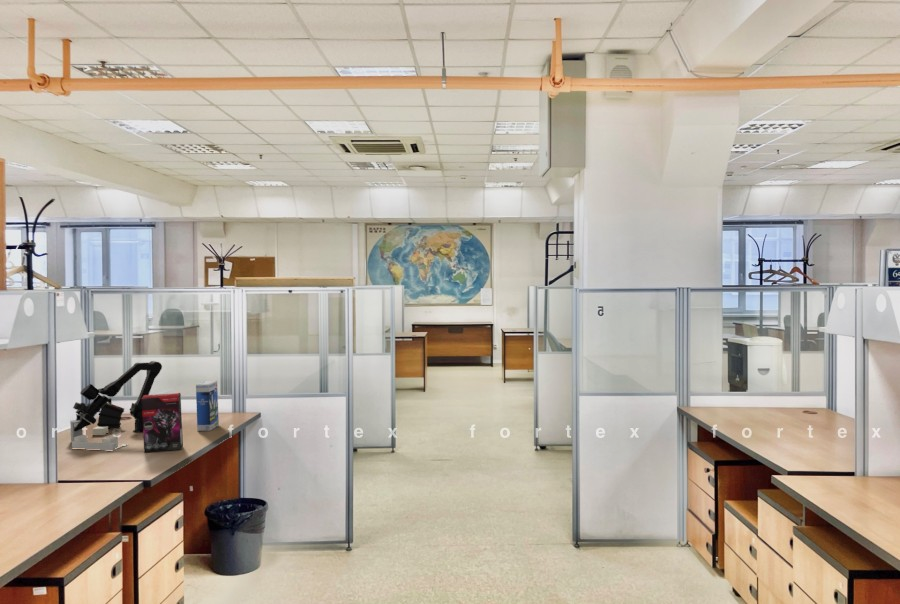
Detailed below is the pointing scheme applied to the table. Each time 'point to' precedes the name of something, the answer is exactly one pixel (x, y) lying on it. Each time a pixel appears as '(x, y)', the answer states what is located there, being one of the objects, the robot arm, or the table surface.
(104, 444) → the rail plate
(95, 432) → the block
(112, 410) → the black flat block
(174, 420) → the graphics card box
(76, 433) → the module
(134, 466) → the table surface
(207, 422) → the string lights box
